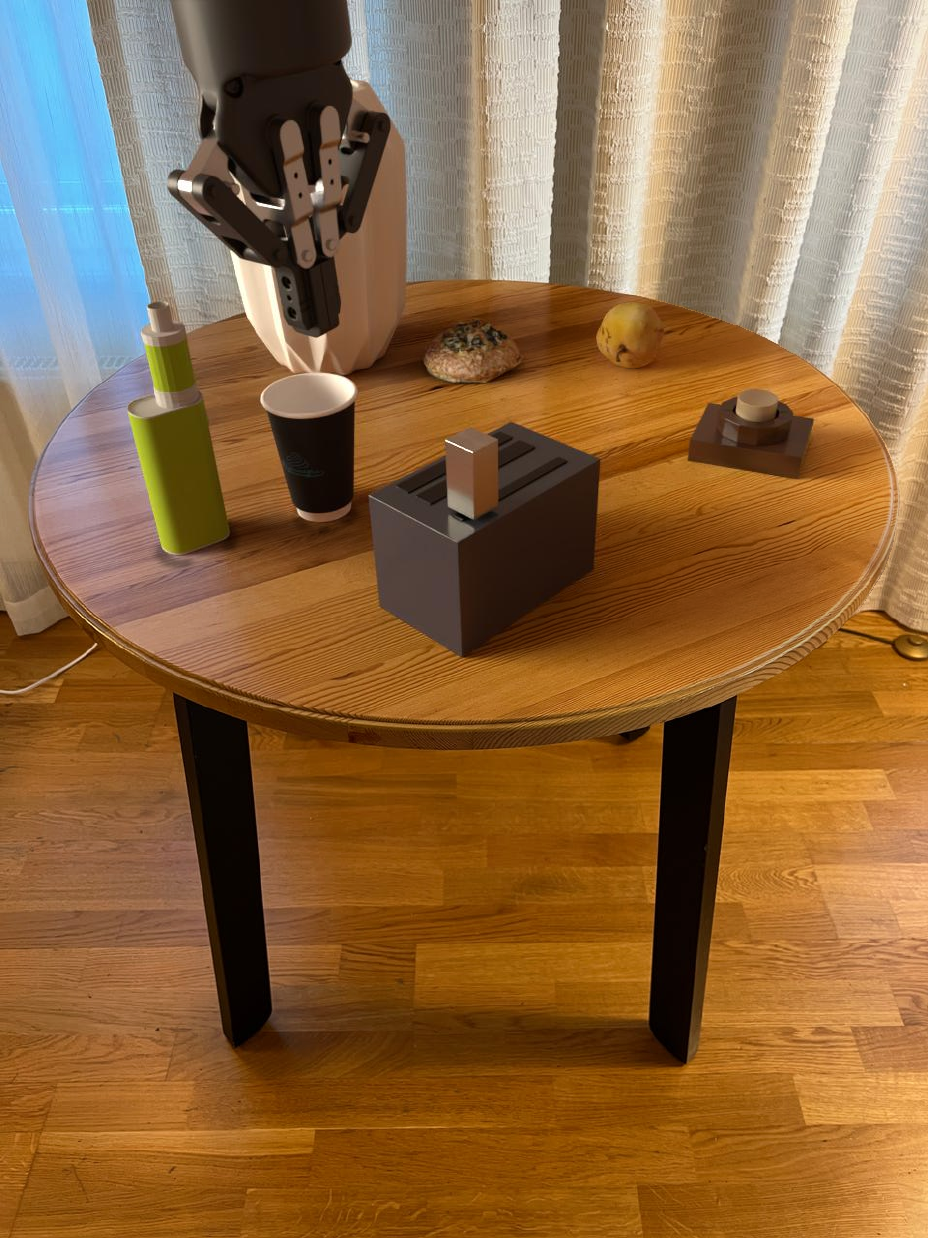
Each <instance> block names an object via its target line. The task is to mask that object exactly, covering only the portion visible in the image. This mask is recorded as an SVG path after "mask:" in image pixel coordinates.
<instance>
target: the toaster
mask: <svg viewBox="0 0 928 1238" xmlns="http://www.w3.org/2000/svg"><path fill="white" fill-rule="evenodd" d="M486 434H487V435H489V436H492V437H494V438H496V439H498V507H497V508H495V509H493V510H491V511H490V512H488V513H486V514H485V515H483V516H481V517H479V518H478V519H476V520H473V519H471V518H469V517H467V516H465V515H463V514H461V513H459V512H457V511H455V510H453V509H451V508H449V507H448V499H447V476H446V454H445V455H443V456H441V457H440V458H437V459H436V460H434V461H432V462H430V463H428V464H426V465H424V466H422V467H420V468H418V469H416V470H414V471H412V472H410V473H408V474H406V475H405V476H402V477H401V478H399V479H397V480H395V481H393V482H390V483H389V484H387V485H385V486H383V487H381V488H379V489H377V490H375V491H373V492H371V493H370V494H368V505H369V514H370V524H371V525H370V526H371V533H372V535H371V536H372V545H373V554H374V555H373V557H374V565H375V575H376V587H377V595H378V596H377V597H378V604H379V608H380V609H383V610H384V611H386V612H387V613H389V614H391V615H392V616H394V617H396V618H397V619H399V620H400V621H402V622H404V623H405V624H407V625H409V626H410V627H412V628H413V629H415V630H416V631H418V632H419V633H421V634H423V635H424V636H426V637H427V638H429V639H431V640H433V641H434V642H436V643H438V644H439V645H441V646H442V647H444V648H446V649H447V650H449V651H450V652H452V653H454V654H455V655H457V656H459V657H460V658H462V659H463V658H464V657H466V656H467V655H469V654H470V653H471V652H473V651H475V650H477V649H478V648H479V647H480V646H483V644H485V643H487V642H488V641H489V640H491V639H492V638H493V637H495V636H497V635H499V634H500V633H501V632H503V631H504V630H506V629H507V628H508V627H510V626H512V625H513V624H515V623H516V622H517V621H519V620H520V619H522V618H524V617H525V616H526V615H528V614H529V613H530V612H532V611H533V610H535V609H537V608H539V607H540V606H541V605H543V604H544V603H546V602H547V601H549V600H550V599H552V598H553V597H555V596H556V595H558V594H559V593H560V592H562V591H563V590H565V589H566V588H568V587H569V586H571V585H572V584H574V583H575V582H577V581H578V580H580V579H581V578H583V577H584V576H585V575H587V574H589V573H590V572H592V571H594V568H595V558H596V557H595V555H596V539H597V538H596V537H597V525H598V523H597V522H598V509H599V508H598V507H599V489H600V476H601V458H599V457H598V456H594V455H592V454H590V453H588V452H585V451H583V450H581V449H578V448H575V447H574V446H571V445H568V444H566V443H565V442H561V441H559V440H557V439H554V438H552V437H549V436H547V435H545V434H542V433H539V432H537V431H535V430H532V429H531V428H527V427H525V426H523V425H520V424H518V423H516V422H513V421H509V422H508V423H506V424H504V425H502V426H500V427H498V428H496V429H494V430H492V431H490V432H487V433H486Z"/></svg>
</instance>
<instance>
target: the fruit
mask: <svg viewBox="0 0 928 1238" xmlns="http://www.w3.org/2000/svg"><path fill="white" fill-rule="evenodd" d="M664 338H665V327H664V324H663V321H662V320H661V318H660V317H659V316H658V314H657V312H656V311H655V309H654V308H653V307H651V306H650V305H648V304H645V303H641V302H632V301H628V302H622V303H619V304H617V305H615V306H613V307H612V308H610V309H609V310H608V312H607V313H606V314H605V316H604V318H603V320H602V322H601V324H600V325H599V328H598V330H597V332H596V337H595V339H596V344H597V347H598V350H599V352H600V353H601V354H602V355H604V357H606V358H607V359H608V360H609V361H610V362H611V363H612V364H614V365H615V366H618V367H622V368H626V369H639V368H643V367H645V366H647V365H649V364H650V363H652V362H653V361H654V360H655V359H656V357H657V354H658V351H659V349H660V346H661V344H662V342H663V341H664Z"/></svg>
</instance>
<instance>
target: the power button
mask: <svg viewBox="0 0 928 1238" xmlns="http://www.w3.org/2000/svg"><path fill="white" fill-rule="evenodd" d="M737 397H738V399H737V405H736V412H735V414H736V416H738V417H740V418H742V419H744V420H747V421H754V422H765V421H771V420H774V419H775V417H776V411H777V406H778V401H779V397H778V396H777V394H775V393H774V392H772V391H769V390H767V389H760V388H751V389H750V388H749V389H745V390H742V391H740V392H739V393H738V394H737Z"/></svg>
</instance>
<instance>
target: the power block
mask: <svg viewBox="0 0 928 1238" xmlns="http://www.w3.org/2000/svg"><path fill="white" fill-rule="evenodd" d="M737 399H738V396H733V397H731V398H728V399H726V400H724V401H722V402H721V404H720V403H713V402H708V403H707V404H706V407H705V409H704V411H703V413H702V415H701V416H700V419H699V421H698V423H697V425H696V427H695V429H694V431H693V432H692V435H691V437H690V439H689V446H688V453H687V461H688V462H694V463H700V464H706V465H713V466H718V467H724V468H730V469H737V470H741V471H747V472H754V473H760V474H765V475H771V476H778V477H783V478H788V479H789V478H790V479H795V480H798V479H799V477H800V473H801V470H802V468H803V464H804V460H805V457H806V454H807V451H808V447H809V445H810V441H811V438H812V432H813V428H814V423H815V417H808V416H807V417H806V416H800V415H794V412H793V410H792V409H791V408H790V407H789V405H788V404H786V403H784V402H782V401H779V400H778V406H777V411H776V417H775V419H774V420H771V421H765V422H754V421H747V420H744V419H742V418H740V417H738V416H736V414H735V412H736V405H737Z"/></svg>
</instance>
